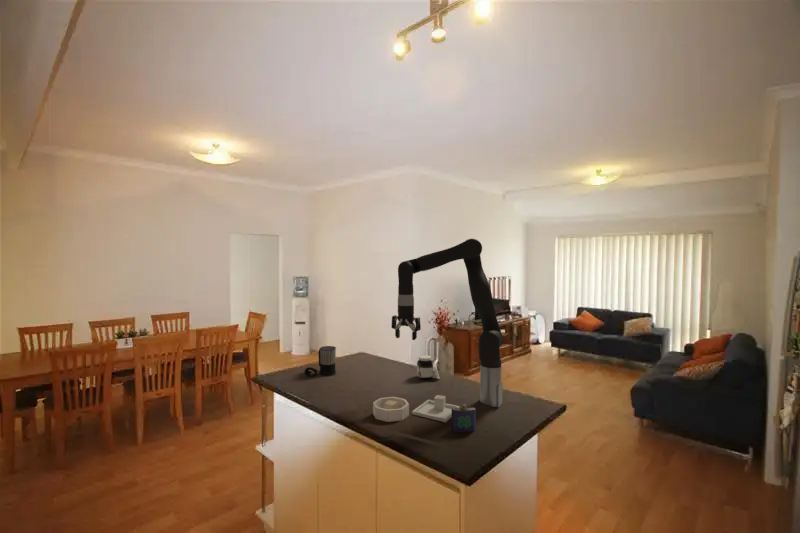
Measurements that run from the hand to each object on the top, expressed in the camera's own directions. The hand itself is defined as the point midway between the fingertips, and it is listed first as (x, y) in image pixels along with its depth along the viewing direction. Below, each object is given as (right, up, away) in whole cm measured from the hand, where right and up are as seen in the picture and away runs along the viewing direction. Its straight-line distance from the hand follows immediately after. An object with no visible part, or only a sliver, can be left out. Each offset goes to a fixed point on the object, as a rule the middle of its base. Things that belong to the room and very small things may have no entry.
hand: (405, 338), depth 173 cm
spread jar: (+13, -28, +31) cm, 43 cm away
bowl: (-7, -28, -20) cm, 35 cm away
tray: (+13, -28, -17) cm, 35 cm away
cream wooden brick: (-6, -27, -20) cm, 34 cm away
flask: (+21, -29, -34) cm, 49 cm away
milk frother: (-48, -27, +36) cm, 66 cm away
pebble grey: (+14, -27, -14) cm, 34 cm away
